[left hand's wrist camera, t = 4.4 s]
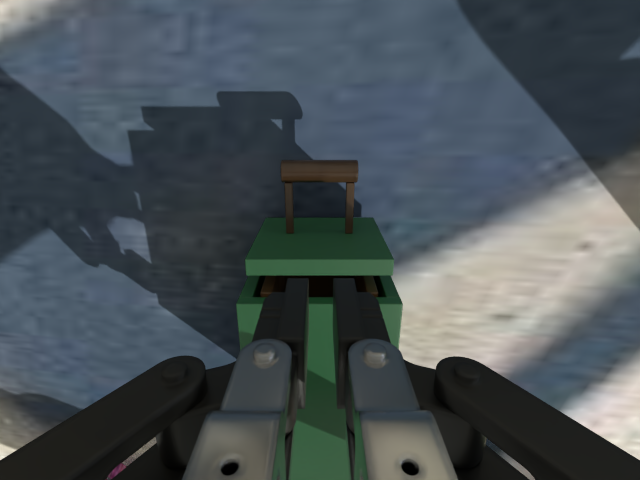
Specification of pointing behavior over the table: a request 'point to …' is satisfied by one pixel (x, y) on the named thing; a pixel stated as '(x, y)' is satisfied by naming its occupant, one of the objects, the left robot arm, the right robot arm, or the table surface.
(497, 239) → the table surface
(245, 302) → the green storage box
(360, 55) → the table surface
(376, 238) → the drawer
